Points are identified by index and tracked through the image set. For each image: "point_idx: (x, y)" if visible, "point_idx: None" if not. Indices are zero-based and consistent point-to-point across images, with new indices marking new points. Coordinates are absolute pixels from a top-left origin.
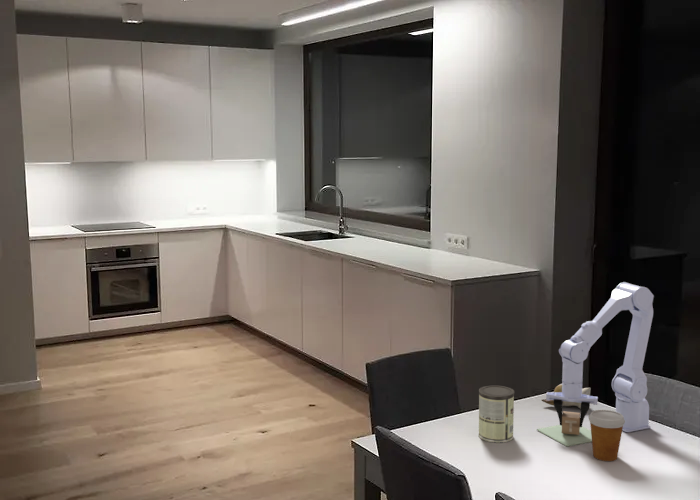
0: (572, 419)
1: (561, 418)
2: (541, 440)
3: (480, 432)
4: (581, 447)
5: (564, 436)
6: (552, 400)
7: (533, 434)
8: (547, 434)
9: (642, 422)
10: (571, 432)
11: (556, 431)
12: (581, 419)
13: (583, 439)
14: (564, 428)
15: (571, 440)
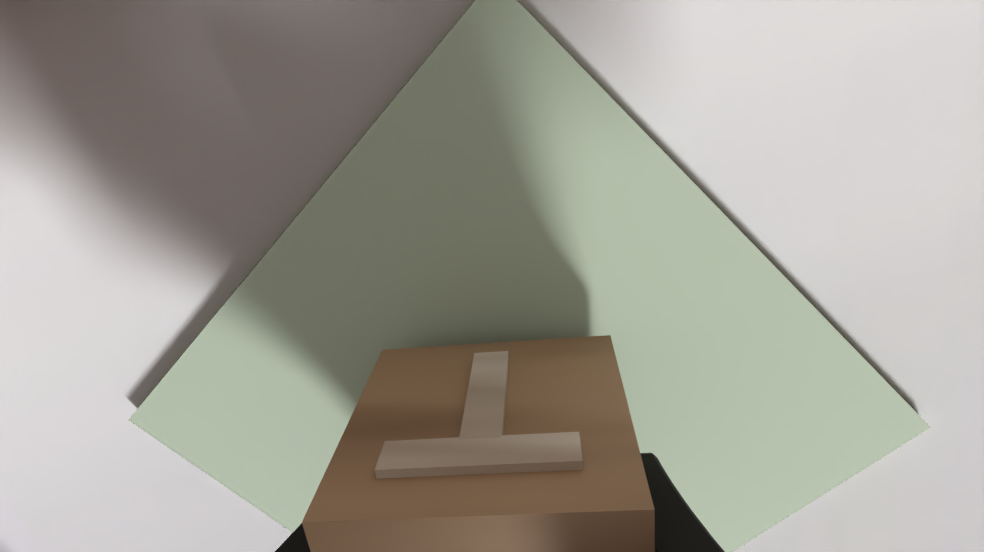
0: (445, 490)
1: (656, 524)
2: (878, 92)
3: None
4: (304, 45)
5: (567, 305)
6: None
7: (978, 276)
8: (792, 298)
9: None
10: (479, 354)
11: (677, 426)
12: (305, 547)
13: (329, 288)
14: (579, 375)
15: (463, 204)
